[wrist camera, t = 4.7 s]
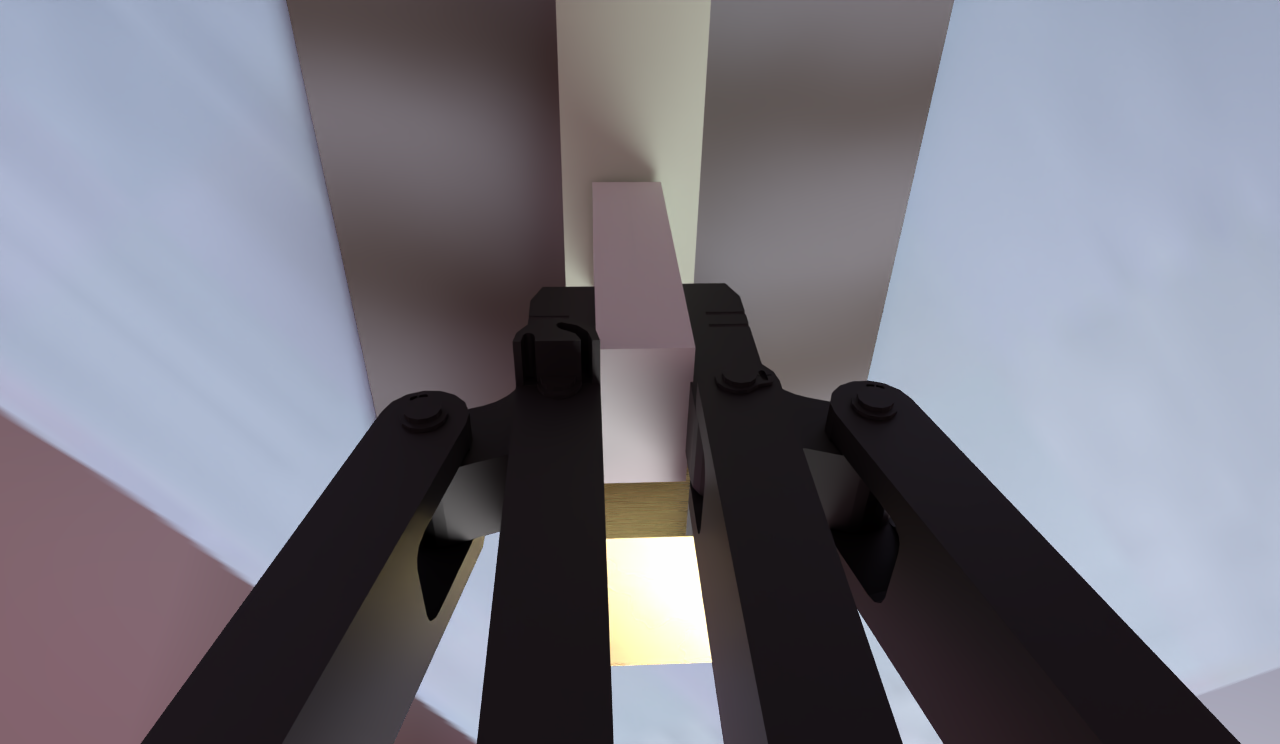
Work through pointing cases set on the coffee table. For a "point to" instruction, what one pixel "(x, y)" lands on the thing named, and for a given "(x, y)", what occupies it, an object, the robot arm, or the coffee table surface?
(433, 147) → the tongs base
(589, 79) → the bar
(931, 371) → the coffee table surface
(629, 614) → the collar
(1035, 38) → the coffee table surface
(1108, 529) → the coffee table surface
